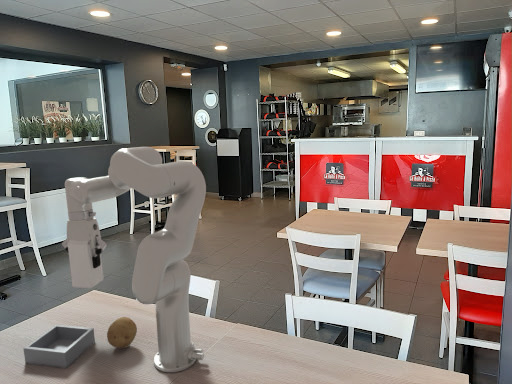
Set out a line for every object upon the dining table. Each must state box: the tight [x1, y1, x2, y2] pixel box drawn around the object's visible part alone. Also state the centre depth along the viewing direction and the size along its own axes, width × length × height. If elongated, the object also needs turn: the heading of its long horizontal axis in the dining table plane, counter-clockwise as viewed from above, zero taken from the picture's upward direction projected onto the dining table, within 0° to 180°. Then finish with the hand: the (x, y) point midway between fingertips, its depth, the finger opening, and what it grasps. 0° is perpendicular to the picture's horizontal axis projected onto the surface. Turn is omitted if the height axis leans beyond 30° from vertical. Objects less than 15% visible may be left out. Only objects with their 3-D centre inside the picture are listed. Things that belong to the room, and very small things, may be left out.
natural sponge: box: [106, 316, 138, 349], centre depth 125 cm, size 9×9×10 cm
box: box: [23, 324, 96, 369], centre depth 124 cm, size 14×14×5 cm
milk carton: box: [67, 240, 105, 289], centre depth 133 cm, size 7×7×19 cm
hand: (86, 265), depth 133 cm, fingers closed on milk carton, 7 cm apart
